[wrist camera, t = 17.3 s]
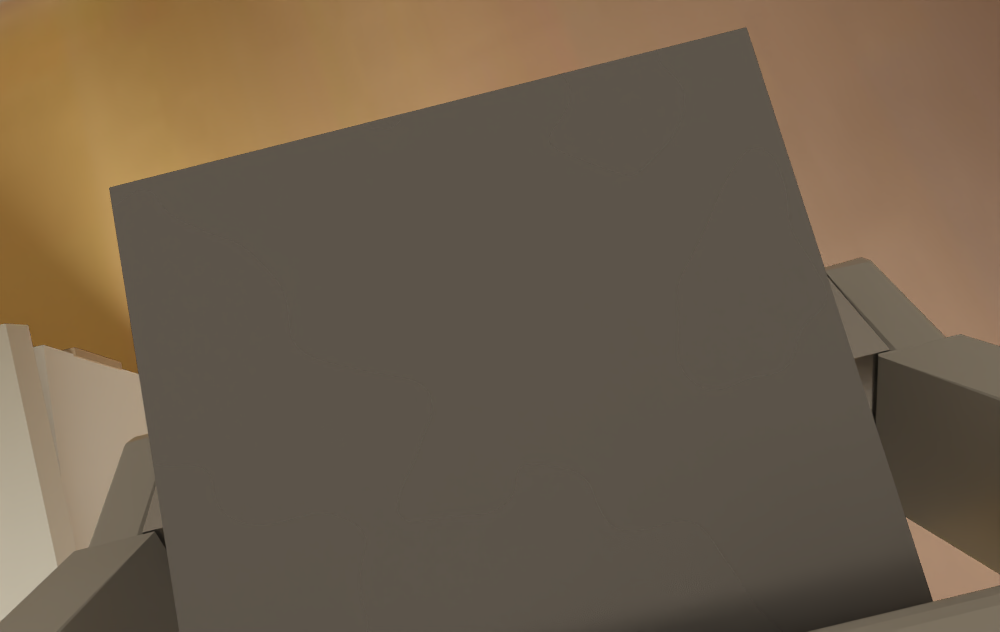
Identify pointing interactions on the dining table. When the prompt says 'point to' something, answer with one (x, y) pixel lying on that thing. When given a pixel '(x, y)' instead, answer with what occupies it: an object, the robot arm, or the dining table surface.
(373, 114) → the dining table surface
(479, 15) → the dining table surface
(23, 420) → the lid flap
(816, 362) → the block
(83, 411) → the carton
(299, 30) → the dining table surface
